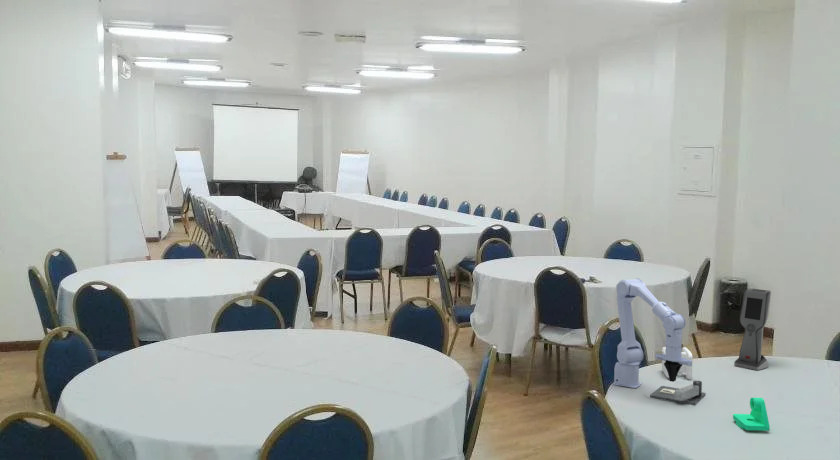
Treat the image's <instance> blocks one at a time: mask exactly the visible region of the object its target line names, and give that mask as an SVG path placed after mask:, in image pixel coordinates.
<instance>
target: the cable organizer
mask: <svg viewBox="0 0 840 460" xmlns="http://www.w3.org/2000/svg"><path fill="white" fill-rule="evenodd" d="M661 354H664V355H666V346H663V347H662V348H661ZM681 357H682V358H685V359H688V360H691V361H692V362H693V360H694V359H693V354H692V352H691V351H690V350H689V349H688V348H687V347H686V346H682V348H681ZM665 362H666V361H664V360H661V369H662V372H663V374H664V375H665V376H666V378H667V379H669V375H668V372H667V369H666V367H665V366H664V363H665ZM678 374H682V376H685V378H687V379H688V380H691V379H692V378H693V365H692V366H687V365H683V364H682V366H681V368H680V370H679V372H678Z"/></svg>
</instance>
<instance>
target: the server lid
mask: <svg viewBox="0 0 840 460" xmlns="http://www.w3.org/2000/svg"><path fill="white" fill-rule="evenodd" d="M663 388H664V389H670V390H678V389H680V388H678V387H671V386H665V385H661V386H659V387H658V388H657V389H656V390H654V391H653V392H652V393H651V394H650V395H649V398H652V399H658V400H663V401H669V402H674V403H680V404H686V405H692V406H696V405H697V404H698V403H699V402H700V401H701V400H702V399H703V398H704V397H705V396H706V392H703V391H702V395H701V396H694V397H692V398H689V399H686V400H684V401H680V400H676V399H675V395H674V394H675V393H674V394H668V393H662V392H660V391H661V390H662V389H663Z"/></svg>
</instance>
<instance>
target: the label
mask: <svg viewBox="0 0 840 460" xmlns="http://www.w3.org/2000/svg"><path fill="white" fill-rule="evenodd" d="M660 392H662V393H668V394H674V393H675V390H670V389H664V388H663V389H662V390H661V391H660Z"/></svg>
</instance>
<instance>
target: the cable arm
mask: <svg viewBox="0 0 840 460" xmlns="http://www.w3.org/2000/svg"><path fill="white" fill-rule="evenodd" d="M702 385H703V382H702V381H700V380H693V381H692V384H689V385H686V386H683V387H680V388H679V389H678V390H675V399H676V400H680V401H684V400H686V399H689V398H692V397H694V396H701V395H702V392H703V389H702V388H703V386H702Z"/></svg>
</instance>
